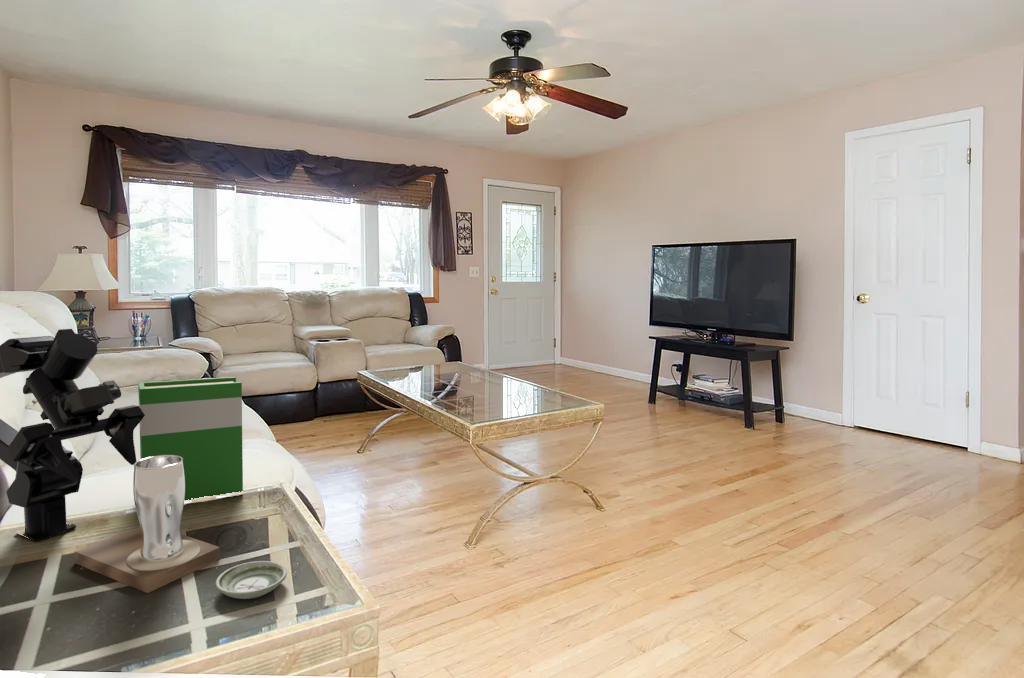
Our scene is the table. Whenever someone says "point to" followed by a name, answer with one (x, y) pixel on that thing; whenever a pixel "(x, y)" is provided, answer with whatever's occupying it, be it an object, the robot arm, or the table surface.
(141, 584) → the walnut base
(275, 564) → the saucer
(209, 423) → the hardback book
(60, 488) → the robot arm
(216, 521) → the table surface
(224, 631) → the table surface
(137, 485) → the metal tumbler
